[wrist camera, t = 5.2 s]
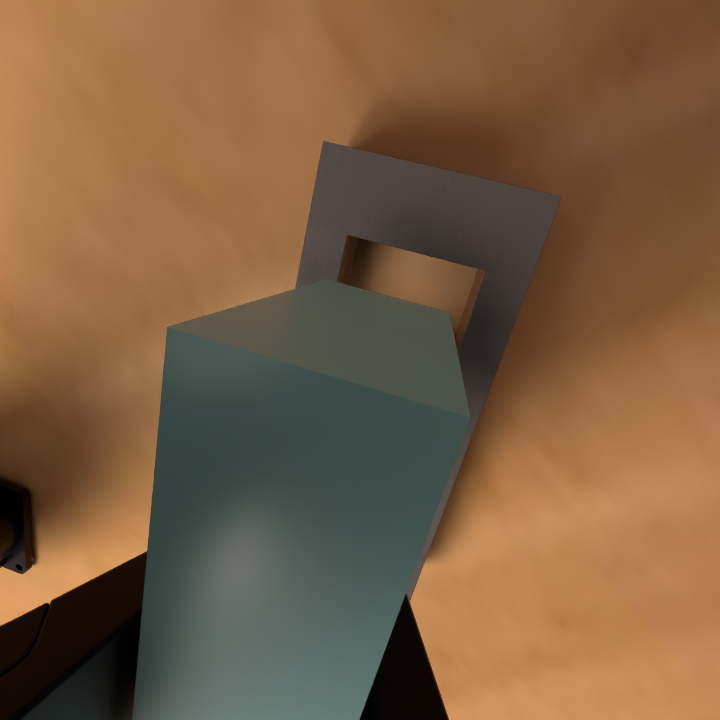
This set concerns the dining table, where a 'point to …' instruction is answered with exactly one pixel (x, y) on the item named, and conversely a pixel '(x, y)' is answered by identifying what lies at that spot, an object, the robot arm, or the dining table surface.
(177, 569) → the teal u-shaped block
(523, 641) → the dining table surface
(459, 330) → the plate with rectangular holes
